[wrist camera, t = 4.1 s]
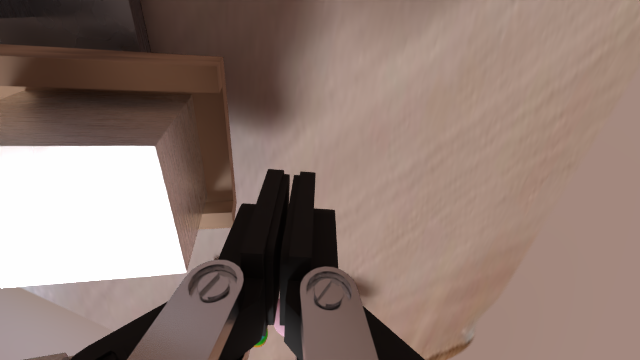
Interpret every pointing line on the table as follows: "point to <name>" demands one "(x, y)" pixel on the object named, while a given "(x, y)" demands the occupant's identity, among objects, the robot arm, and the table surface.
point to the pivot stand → (74, 24)
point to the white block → (97, 186)
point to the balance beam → (141, 78)
